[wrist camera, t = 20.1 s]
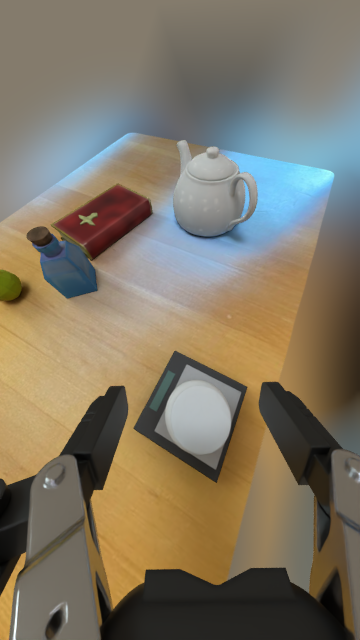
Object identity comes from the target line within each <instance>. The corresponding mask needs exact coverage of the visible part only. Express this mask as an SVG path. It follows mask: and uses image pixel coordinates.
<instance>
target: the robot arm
mask: <svg viewBox="0 0 360 640" xmlns="http://www.w3.org/2000/svg"><path fill="white" fill-rule="evenodd" d="M259 409H260V413H261V415H262V417H263V419H264V421H265V422H266V424H267V426H268V428H269V430H270V432H271V434H272V436H273V438H274V439H275V441H276V443H277V445H278V447H279V449H280V451H281V453H282V454H283V456H284V458H285V460H286V462H287V464H288V466H289V467H290V470H291V472H292V473H293V475H294V477H295V479H296V481H297V483H298V485H309V486H310V488H311V489H312V491H313V493H314V495H315V496H314V553H313V554H314V555H313V563H312V568H311V575H310V586H309V593H307V592H306V591H305V590H304V589H302V588H300V587H299V586H297V585H295V584H293V583H291V582H290V580H289V577H288V574H287V571H286V568H251V569H249V570H247V571H245V572H243V573H241V574H239V575H237V576H235V577H234V578H232V579H230V580H228V581H226V582H224V583H222V584H220V585H214V584H211V583H209V582H207V581H205V580H203V579H200V578H198V577H196V576H194V575H192V574H189V573H187V572H185V571H183V570H180V569H163V570H146V573H145V582H144V583H142V584H140V585H138V586H137V587H136V588H134V589H133V590H132V591H130V592H129V593H128V594H127V595H126V596H125V597H124V598H123V599H122V600H121V601H120V602H119V603H118V604H117V606H116V607H115V608H114V609H113V604H112V599H111V594H110V589H109V584H108V580H107V576H106V572H105V568H104V564H103V560H102V555H101V550H100V545H99V540H98V534H97V529H96V524H95V519H94V514H93V508H92V503H91V500H90V499H91V496H92V494H93V491H94V490H103V487H104V484H105V481H106V478H107V475H108V472H109V469H110V466H111V463H112V460H113V457H114V455H115V452H116V449H117V446H118V443H119V440H120V437H121V434H122V431H123V428H124V425H125V422H126V419H127V415H128V403H127V397H126V391H125V387H124V386H110V387H109V388H108V390H107V392H106V394H105V396H99V397H98V398H97V399H96V400H95V401H94V402H93V403H92V404H91V405H90V407H89V408H88V410H87V412H86V414H85V415H84V417H83V418H82V420H81V422H80V423H79V425H78V426H77V428H76V429H75V431H74V433H73V434H72V436H71V438H70V439H69V441H68V442H67V444H66V446H65V447H64V449H63V451H62V452H61V454H60V455H59V456H58V457H56V458H54V459H53V460H51V461H50V462H49V463H47V464H46V465H45V466H44V467H43V468H42V469H41V470H40V471H39V473H38V474H36V475H34V476H32V477H29V478H27V479H24V480H21V481H18V482H15V483H13V484H10V485H6V483H5V482H4V480H2V479H0V596H1V594H2V592H3V590H4V588H5V586H6V584H7V582H8V580H9V578H10V576H11V574H12V572H13V570H14V568H15V566H16V564H17V562H18V560H19V558H20V556H21V554H23V553H25V552H26V561H25V565H24V568H23V569H22V570H21V571H20V572H19V574H18V576H17V579H16V583H15V588H14V595H13V605H12V615H11V625H10V635H9V640H360V456H359V455H357V454H355V453H353V452H351V451H348V450H344V449H343V448H342V447H341V446H340V445H339V444H338V443H337V442H336V440H335V439H334V438H333V437H332V436H331V435H330V434H329V432H328V431H327V430H326V429H325V428H324V427H323V425H322V424H321V423H320V422H319V421H318V420H317V418H316V417H314V416H313V414H312V413H311V412H310V410H309V409H307V408H306V406H305V405H304V404H303V402H302V401H301V400H300V399H299V398H298V397H296V396H295V395H294V394H292V393H291V392H289V391H285V390H284V388H283V387H282V386H281V385H280V384H279V383H278V382H263V383H262V386H261V392H260V398H259Z"/></svg>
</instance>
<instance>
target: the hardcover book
mask: <svg viewBox="0 0 360 640" xmlns="http://www.w3.org/2000/svg"><path fill="white" fill-rule="evenodd" d="M151 214H152V206H151V202H150V199H149V198H147V197H145V196H143V195H141V194H139V193H137V192H135V191H133V190H131V189H128V188H126V187H124V186H122V185H120V184H116V185H114V186H113V187H111V188H110V189H108V190H106V191H105V192H103V193H101V194H100V195H98V196H97V197H95V198H93V199H92V200H90V201H88V202H87V203H85V204H84V205H82V206H80V207H79V208H77V209H75V210H74V211H72V212H71V213H69V214H67V215H66V216H64V217H62V218H61V219H59V220H58V221H56V222H54V223H53V224H51V226H52V227H53V228H55V229H56V230H58V232H59V233H60V234H61V236H62V238H61V239H62V240H63V241H67V242H70V243H72V244H74V245H77V246H79V247H80V248H81V250H82V251H83V253H84V254H85V256H86V257H87V258H89V259H90V260H92V259H94V258H95V257H96V256H97V255H99V254H100V253H101V252H103V251H104V250H105V249H107V248H108V247H109V246H111V245H112V244H113V243H115V242H116V241H117V240H118V239H120V238H121V237H122V236H124V235H125V234H126V233H128V232H129V231H130V230H132V229H133V228H134V227H136V226H137V225H138V224H139V223H141V222H142V221H143V220H145V219H146V218H147V217H149V216H150V215H151Z"/></svg>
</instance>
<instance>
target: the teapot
mask: <svg viewBox="0 0 360 640" xmlns="http://www.w3.org/2000/svg"><path fill="white" fill-rule="evenodd" d="M177 148H178V149H179V152H180V158H181V176H180V178H179V180H178V182H177V184H176V187H175V191H174V198H173V207H174V213H175V217H176V219H177V221H178V223H179V224H180V226H181V227H182V228H183V229H185V230H186V231H188V232H189V233H192V234H195V235H199V236H217V235H220V234H223V233H225V232H227V231H230V230H232V229H233V227H234V226H235V225H236V224H239V223H242V222H244V221H246V220H247V219H249V218H250V217H251V216H252V214H253V213H254V210H255V208H256V205H257V196H258V194H257V185H256V182H255V180H254V178H253V176H252V175H251V174H249V173H247V172H243V173H240V172H239V167H238V165H237V164H236V163H235V162H233V161H232V160H230V159H229V158H227V157H226V156H225V155H222V154H220V153H219V149H218V148H217V147H209V148H208V149H207V151H206V153H202V154H200V155H198V156H196V157H195V158H193V159H192V158H191V154H190V151H189V147H188V144H187V142H186V141H185V140H182V141H180V142H178V143H177ZM243 180H244V181H245V182H246V184H247V186H248V189H249V196H250V201H249V208H248V211H247V213H246V214H245V215H244V216H243V217H242V218H240V217H241V214H242V211H243V208H244V203H245V186H244V182H243Z"/></svg>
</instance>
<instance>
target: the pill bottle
mask: <svg viewBox="0 0 360 640" xmlns="http://www.w3.org/2000/svg"><path fill="white" fill-rule="evenodd" d="M165 421H166V426H167V430H168V432H169V434H170V436H171V438H172V439H173V441H174V442H175V443H176V444H177V445H178V446H179V447H180V448H181V449H183V450H184V451H186V452H188V453H190V454H194V455H206V454H210V453H213V452H215V451H217V450H218V449H219V448H221V447H222V445H223V444H224V443H225V441H226V440H227V438H228V436H229V433H230V428H231V412H230V408H229V405H228V402H227V400H226V398H225V396H224V395H223V394H222V392H221V391H220V390H219V389H218V388H217V387H215V386H214V385H213V384H211V383H209V382H206V381H203V380H190V381H186V382H184V383H182V384H181V385H179V386H178V387H177V388H176V389H175V390H174V391H173V392H172V394H171V395H170V397H169V399H168V402H167V405H166V410H165Z"/></svg>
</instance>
